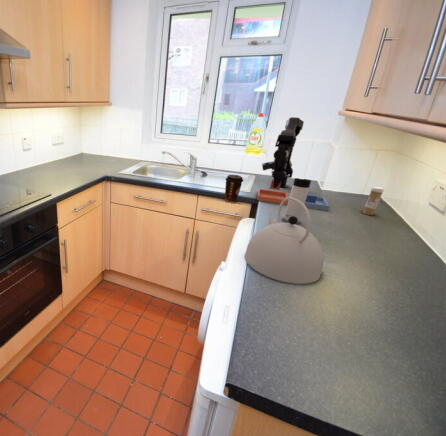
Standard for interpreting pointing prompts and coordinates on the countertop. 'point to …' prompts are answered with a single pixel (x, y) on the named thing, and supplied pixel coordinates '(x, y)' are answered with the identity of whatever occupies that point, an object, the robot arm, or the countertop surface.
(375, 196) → the sprinkles bottle
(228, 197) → the coffee cup
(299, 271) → the kettle
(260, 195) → the terracotta tray
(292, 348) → the countertop surface
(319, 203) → the blue tray
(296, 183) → the travel mug
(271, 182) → the terracotta block
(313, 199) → the slate-blue block
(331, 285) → the countertop surface
